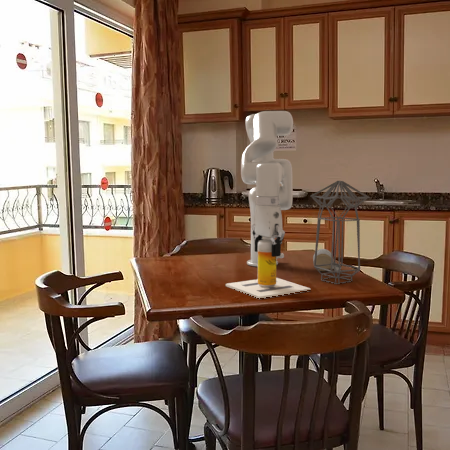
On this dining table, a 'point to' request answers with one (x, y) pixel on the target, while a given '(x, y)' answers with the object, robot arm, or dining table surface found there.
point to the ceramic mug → (324, 260)
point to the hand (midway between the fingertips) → (267, 253)
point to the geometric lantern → (338, 226)
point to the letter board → (263, 292)
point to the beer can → (266, 264)
